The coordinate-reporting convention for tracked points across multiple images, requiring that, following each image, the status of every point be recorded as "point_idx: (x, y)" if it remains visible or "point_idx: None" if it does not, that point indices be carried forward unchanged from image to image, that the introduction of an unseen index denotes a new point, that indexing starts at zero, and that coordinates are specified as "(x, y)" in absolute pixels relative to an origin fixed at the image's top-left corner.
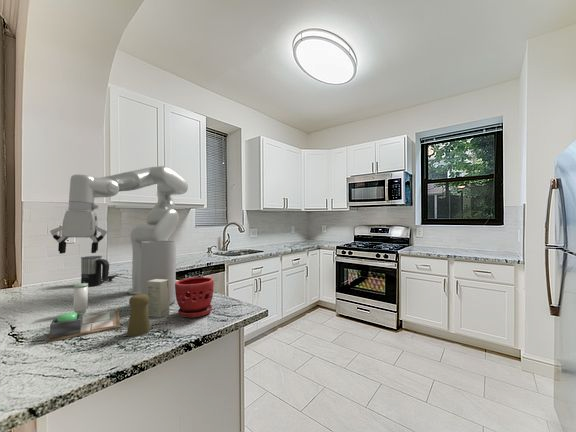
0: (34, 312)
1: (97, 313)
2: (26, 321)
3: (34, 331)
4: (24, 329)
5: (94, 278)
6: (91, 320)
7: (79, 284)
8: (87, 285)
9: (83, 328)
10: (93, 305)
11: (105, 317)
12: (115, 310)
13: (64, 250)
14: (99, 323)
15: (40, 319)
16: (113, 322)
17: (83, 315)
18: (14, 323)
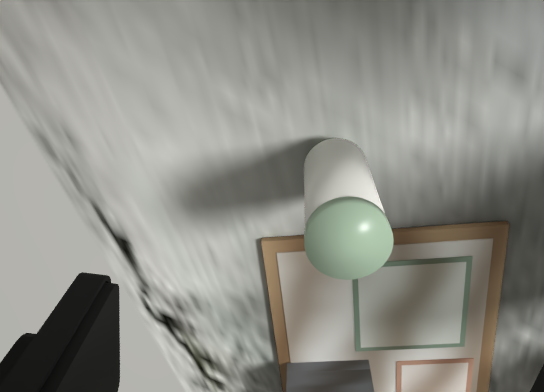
0: (91, 25)
1: (414, 245)
2: (132, 183)
3: (219, 319)
4: (175, 283)
5: None
6: (395, 328)
7: (338, 238)
8: (388, 247)
9: (375, 387)
10: (386, 29)
11: (445, 318)
12: (493, 232)
13: (104, 350)
14: (423, 370)
15: (181, 182)
16: (469, 382)
17: None
18: (95, 189)
